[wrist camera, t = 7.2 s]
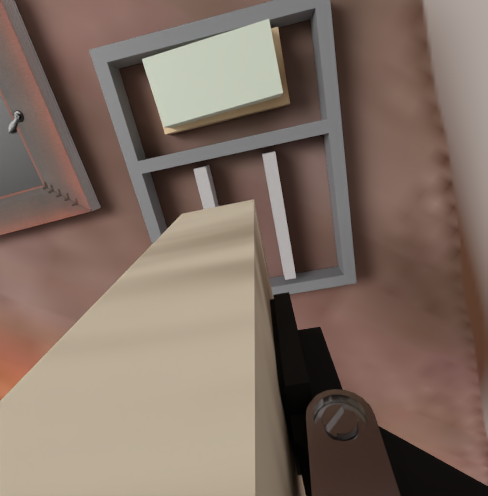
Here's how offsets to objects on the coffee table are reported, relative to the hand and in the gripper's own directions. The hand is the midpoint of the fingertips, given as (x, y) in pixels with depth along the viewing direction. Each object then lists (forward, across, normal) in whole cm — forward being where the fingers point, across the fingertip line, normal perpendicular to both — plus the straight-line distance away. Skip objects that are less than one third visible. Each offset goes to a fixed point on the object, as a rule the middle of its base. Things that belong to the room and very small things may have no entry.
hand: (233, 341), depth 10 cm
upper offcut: (+17, 0, -11) cm, 20 cm away
